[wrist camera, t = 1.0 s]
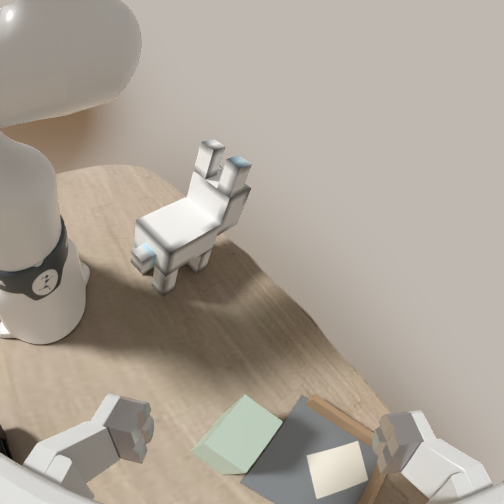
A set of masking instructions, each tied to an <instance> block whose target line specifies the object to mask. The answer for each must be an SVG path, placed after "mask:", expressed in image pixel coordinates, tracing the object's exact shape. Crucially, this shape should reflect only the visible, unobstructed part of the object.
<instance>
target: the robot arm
mask: <svg viewBox="0 0 504 504" xmlns="http://www.w3.org/2000/svg"><path fill="white" fill-rule="evenodd" d="M140 53H141V32H140V28H139V24H138V22H137V20H136V17H135V16H134V14H133V12H132V11H131V10H130V9H129V7H128V6H127V5H125V4H124V3H123V2H121V1H120V0H14V1H13V2H12V3H11V4H9V5H6V6H4V7H1V8H0V128H2V127H6V126H10V125H15V124H20V123H24V122H30V121H35V120H40V119H46V118H52V117H58V116H64V115H68V114H71V113H74V112H78V111H81V110H84V109H88V108H91V107H94V106H97V105H100V104H103V103H107V102H110V101H113V100H114V99H115V98H116V97H117V96H118V95H119V94H120V93H121V92H122V90H123V89H124V88H125V87H126V85H127V84H128V83H129V81H130V80H131V78H132V76H133V74H134V72H135V70H136V67H137V65H138V62H139V58H140ZM89 277H90V270H89V268H88V266H87V265H86V264H84V263H83V262H82V261H80V258H79V255H78V250H77V246H76V244H75V242H72V241H71V240H70V239H69V238H68V236H67V231H66V227H65V225H64V221H63V218H62V216H61V215H60V211H59V202H58V193H57V182H56V174H55V171H54V169H53V167H52V165H51V163H50V162H49V160H48V159H47V158H46V157H45V156H44V155H43V154H42V153H41V152H39V151H38V150H37V149H35V148H33V147H31V146H29V145H25V144H22V143H19V142H16V141H13V140H11V139H9V138H8V137H6V136H5V135H4V134H3V133H2V132H1V131H0V321H1V323H0V337H1V338H18V339H20V340H23V341H25V342H28V343H32V344H48V343H52V342H55V341H57V340H60V339H62V338H63V337H65V336H66V335H68V334H69V333H70V332H71V331H72V330H73V329H74V328H75V327H76V326H77V324H78V323H79V321H80V320H81V318H82V315H83V313H84V310H85V304H86V293H85V288H86V284H87V282H88V280H89ZM150 411H151V408H150V404H149V403H147V402H143V401H139V400H135V399H131V398H127V397H123V396H119V395H115V394H112V393H110V394H108V395H107V396H106V397H105V399H104V400H103V402H102V403H101V405H100V407H99V408H98V410H97V411H96V413H95V415H94V416H93V418H92V419H91V421H90V422H88V421H85V422H83V423H81V424H79V425H77V426H75V427H72V428H70V429H68V430H66V431H64V432H61V433H59V434H57V435H55V436H52V437H50V438H48V439H45V440H43V441H41V442H38V443H37V444H36V446H35V447H34V448H33V450H32V451H31V453H30V454H29V456H28V457H27V459H26V460H25V462H24V463H23V465H22V466H21V465H20V464H18V463H16V462H15V461H13V460H11V459H10V458H8V457H6V456H5V455H3V454H2V453H0V504H103V503H100V502H98V501H95V500H93V498H94V494H93V492H92V491H91V490H90V488H89V487H88V485H87V484H86V483H87V482H88V481H90V480H91V479H93V478H94V477H96V476H97V475H99V474H100V473H101V472H103V471H104V470H106V469H107V468H109V467H110V466H111V465H113V464H114V463H116V462H117V461H118V460H120V458H121V459H124V460H128V461H132V462H137V463H141V464H142V462H143V460H144V457H145V454H146V452H147V448H146V445H145V444H147V443H149V442H150V441H151V439H152V436H153V431H154V421H153V418H152V417H151V416H150V415H149V414H150ZM379 423H380V425H381V426H380V427H378V428H377V429H376V430H375V432H374V434H373V439H372V447H373V451H374V453H375V454H376V455H378V456H379V458H378V460H377V464H378V468H379V471H380V474H381V475H383V474H390V473H396V472H401V473H402V474H403V475H404V476H405V477H406V478H407V479H408V480H409V481H410V482H411V483H412V484H414V485H415V486H416V487H417V488H418V489H419V490H420V491H421V492H422V493H423V494H425V495H426V496H427V497H428V498H429V499H430V500H429V501H428V502H427V503H426V504H504V481H503V482H501V483H499V484H497V485H495V486H493V484H492V483H491V480H490V478H489V476H488V475H487V473H486V471H485V469H484V467H483V465H482V464H481V463H479V462H478V461H476V460H475V459H473V458H471V457H469V456H468V455H466V454H464V453H463V452H461V451H459V450H458V449H456V448H454V447H453V446H451V445H449V444H448V443H446V442H445V441H443V440H441V439H436V437H435V436H434V433H433V432H432V429H431V427H430V425H429V423H428V422H427V420H426V418H425V416H424V414H423V412H422V411H421V410H417V411H410V412H402V413H394V414H386V415H383V416H382V417H381V419H380V421H379Z"/></svg>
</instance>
